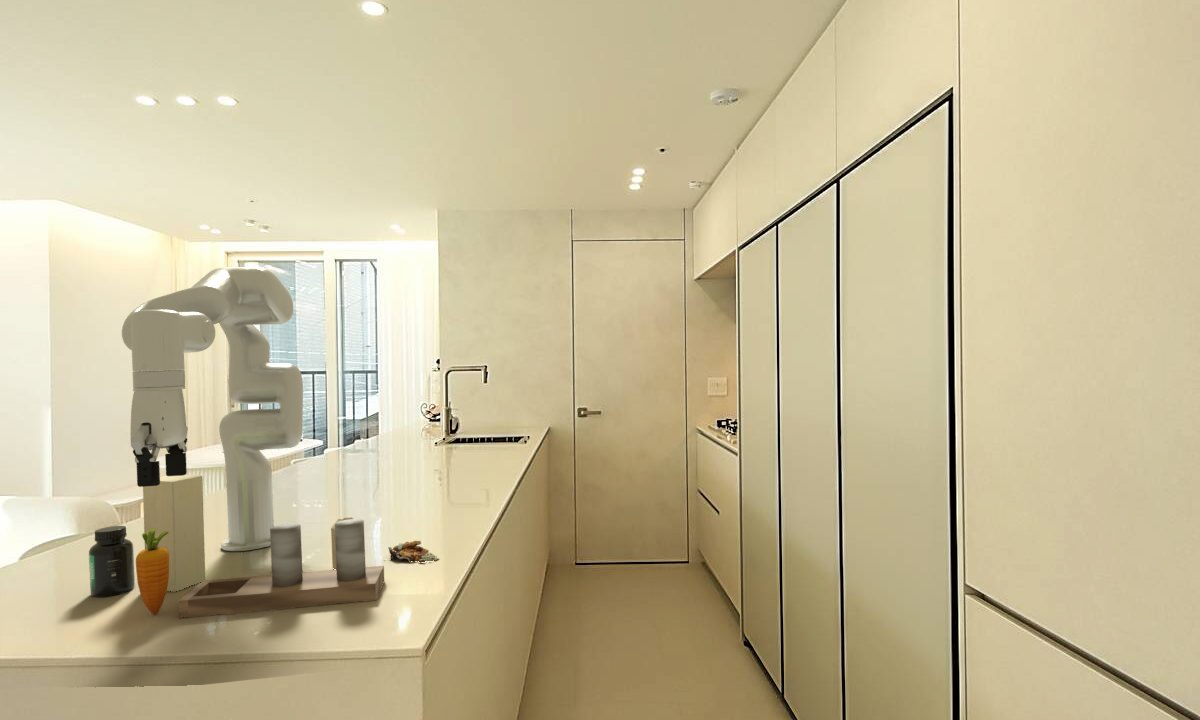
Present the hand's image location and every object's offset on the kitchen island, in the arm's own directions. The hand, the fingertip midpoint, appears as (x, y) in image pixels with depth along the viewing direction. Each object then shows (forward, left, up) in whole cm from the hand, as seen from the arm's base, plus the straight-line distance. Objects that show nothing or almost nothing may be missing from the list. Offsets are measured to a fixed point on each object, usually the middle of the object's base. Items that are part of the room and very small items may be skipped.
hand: (163, 480), depth 114 cm
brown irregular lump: (-21, +39, -24) cm, 50 cm away
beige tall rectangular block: (-16, -5, -23) cm, 29 cm away
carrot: (0, -2, -23) cm, 23 cm away
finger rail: (-2, +19, -23) cm, 30 cm away
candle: (-18, +26, -23) cm, 39 cm away
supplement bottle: (-15, -16, -23) cm, 32 cm away
